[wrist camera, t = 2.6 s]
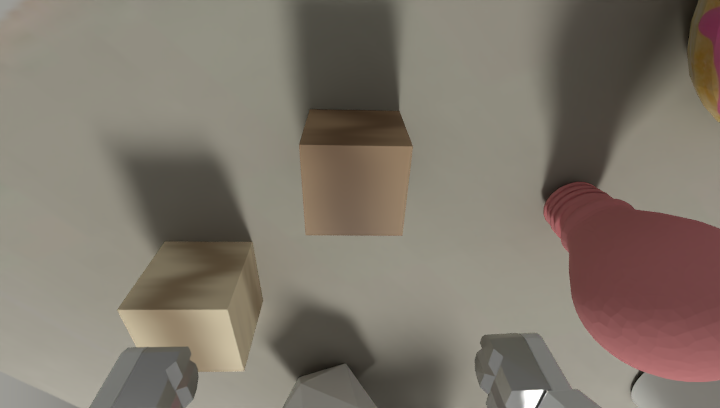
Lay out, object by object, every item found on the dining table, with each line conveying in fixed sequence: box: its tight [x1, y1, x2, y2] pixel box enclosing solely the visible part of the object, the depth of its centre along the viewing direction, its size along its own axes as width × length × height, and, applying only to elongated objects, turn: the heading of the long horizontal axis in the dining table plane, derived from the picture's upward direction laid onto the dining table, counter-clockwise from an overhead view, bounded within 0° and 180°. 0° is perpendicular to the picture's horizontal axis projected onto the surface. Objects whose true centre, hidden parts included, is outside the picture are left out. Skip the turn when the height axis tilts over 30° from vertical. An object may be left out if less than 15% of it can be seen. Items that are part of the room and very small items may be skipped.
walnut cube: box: [299, 109, 413, 236], centre depth 19 cm, size 5×5×5 cm
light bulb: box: [544, 182, 720, 382], centre depth 18 cm, size 7×7×12 cm
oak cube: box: [117, 241, 263, 372], centre depth 23 cm, size 6×6×6 cm
